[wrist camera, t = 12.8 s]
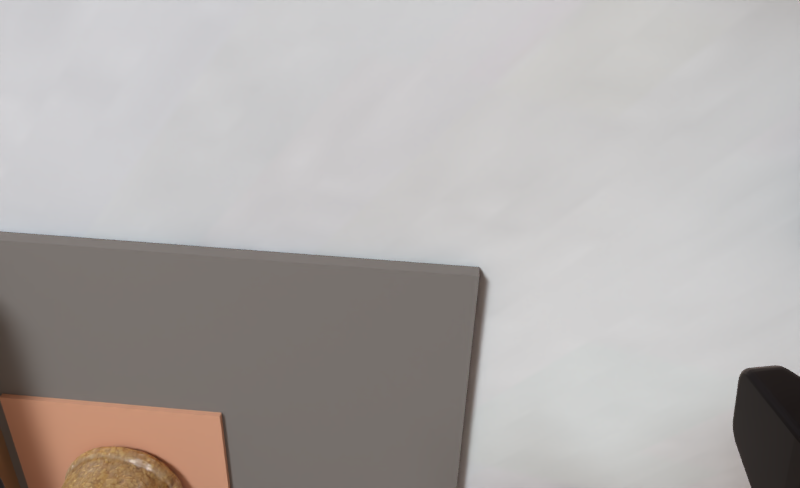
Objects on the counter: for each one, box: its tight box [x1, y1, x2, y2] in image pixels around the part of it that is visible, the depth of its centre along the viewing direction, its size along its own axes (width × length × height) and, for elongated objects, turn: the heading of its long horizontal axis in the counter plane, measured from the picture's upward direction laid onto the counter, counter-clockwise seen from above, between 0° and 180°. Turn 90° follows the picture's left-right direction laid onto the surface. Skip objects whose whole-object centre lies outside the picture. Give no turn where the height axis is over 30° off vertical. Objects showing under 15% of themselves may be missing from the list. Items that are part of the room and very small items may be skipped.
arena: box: [0, 232, 479, 488], centre depth 25 cm, size 18×16×4 cm
